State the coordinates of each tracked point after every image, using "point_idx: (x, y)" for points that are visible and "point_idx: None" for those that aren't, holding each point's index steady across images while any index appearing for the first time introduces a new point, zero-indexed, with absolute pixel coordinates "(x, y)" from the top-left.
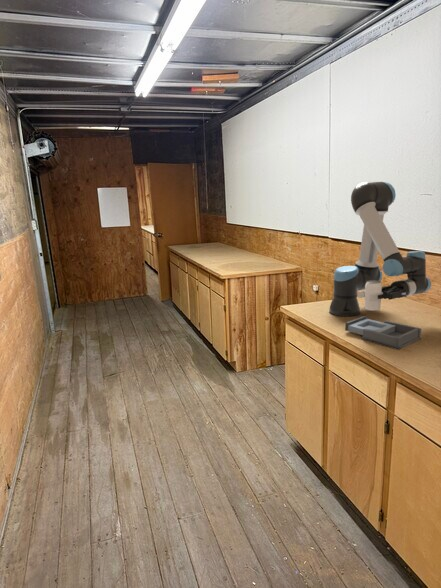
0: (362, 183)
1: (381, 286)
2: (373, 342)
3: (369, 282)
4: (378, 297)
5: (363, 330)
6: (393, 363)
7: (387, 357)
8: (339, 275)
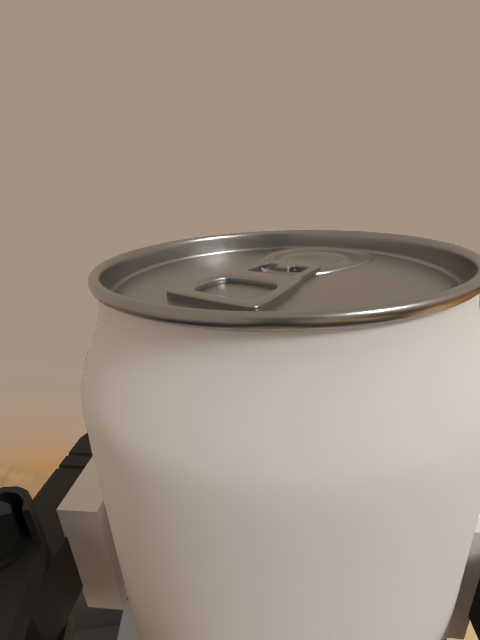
0: None
1: (82, 402)
2: None
3: (326, 254)
4: None
5: None
6: (5, 472)
7: (33, 497)
8: None
